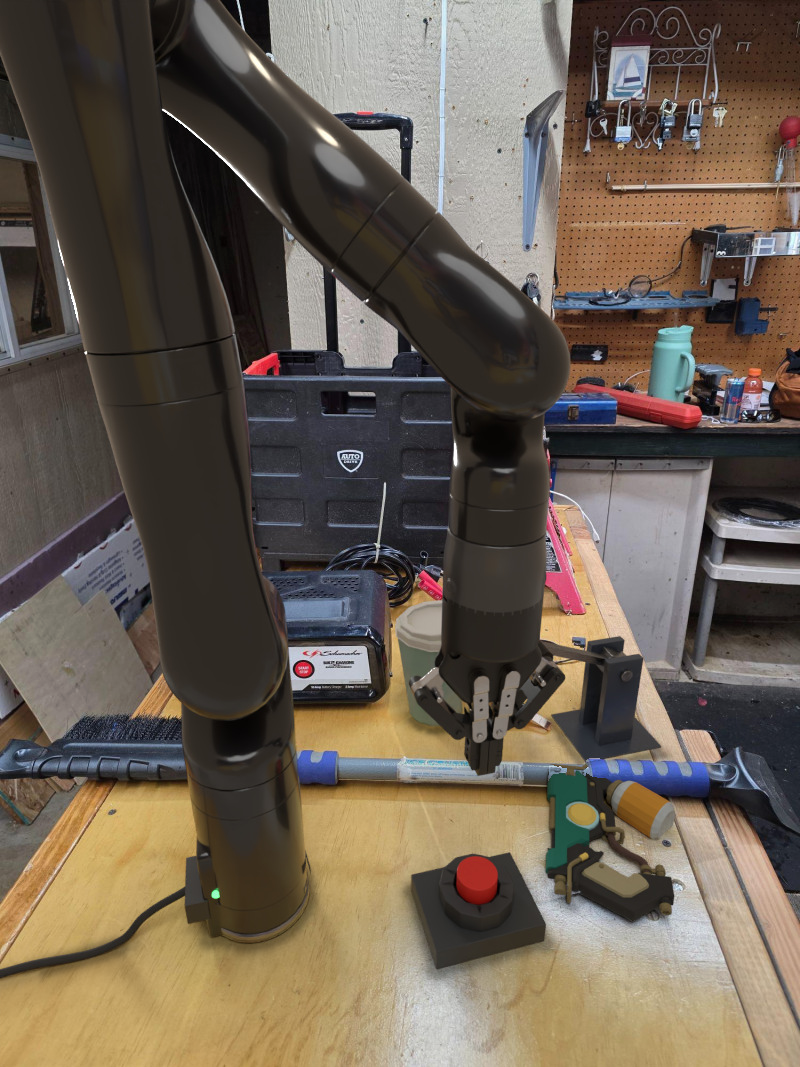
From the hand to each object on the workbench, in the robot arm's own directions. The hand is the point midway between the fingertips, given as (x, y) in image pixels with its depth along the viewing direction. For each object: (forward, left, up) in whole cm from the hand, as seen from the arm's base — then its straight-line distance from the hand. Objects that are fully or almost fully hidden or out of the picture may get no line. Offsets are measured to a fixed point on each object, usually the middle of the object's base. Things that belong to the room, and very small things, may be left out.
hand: (482, 767), depth 58 cm
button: (0, -1, -12) cm, 12 cm away
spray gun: (+15, +3, -16) cm, 22 cm away
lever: (+18, +18, -4) cm, 26 cm away
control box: (0, -1, -16) cm, 16 cm away
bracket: (+24, +18, -16) cm, 34 cm away
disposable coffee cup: (+5, +28, -16) cm, 33 cm away
